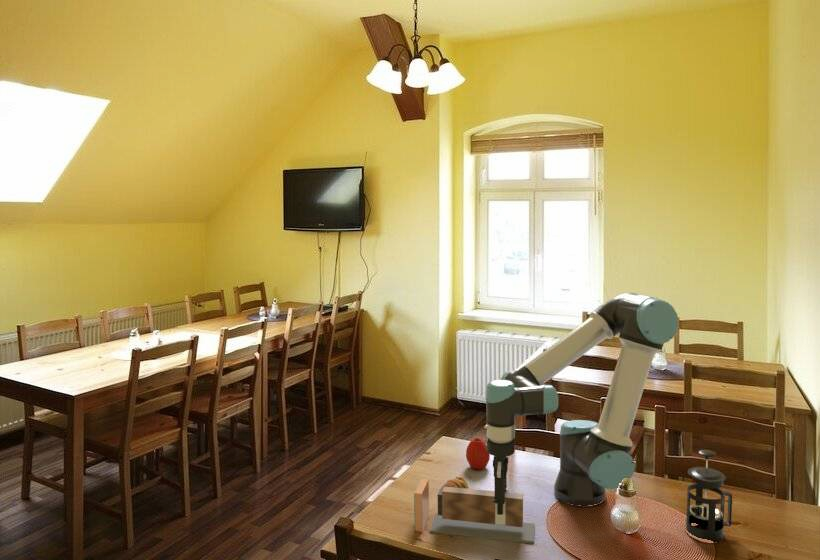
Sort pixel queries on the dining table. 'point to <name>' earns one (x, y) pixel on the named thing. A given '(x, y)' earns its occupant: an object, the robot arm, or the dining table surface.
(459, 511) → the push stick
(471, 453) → the red vase
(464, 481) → the pastry
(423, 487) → the tile
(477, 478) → the dining table surface
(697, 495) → the french press
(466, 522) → the mat
